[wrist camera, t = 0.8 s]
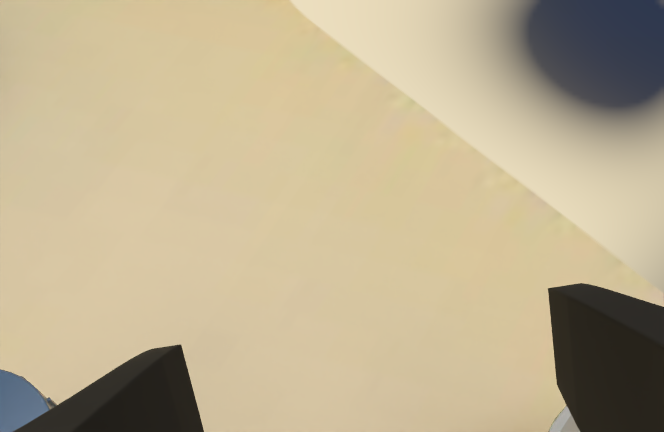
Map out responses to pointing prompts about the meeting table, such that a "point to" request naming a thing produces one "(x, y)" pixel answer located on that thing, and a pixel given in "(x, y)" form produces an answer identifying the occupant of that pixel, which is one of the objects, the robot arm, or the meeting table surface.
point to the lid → (20, 402)
